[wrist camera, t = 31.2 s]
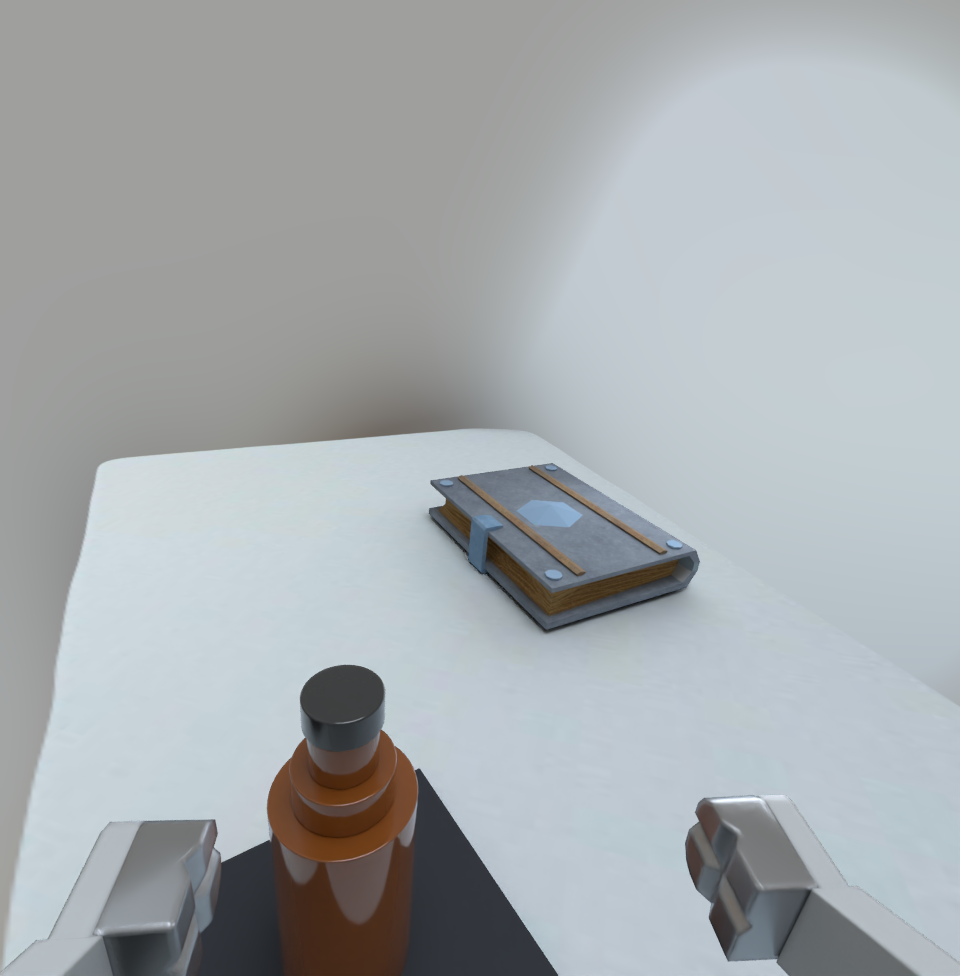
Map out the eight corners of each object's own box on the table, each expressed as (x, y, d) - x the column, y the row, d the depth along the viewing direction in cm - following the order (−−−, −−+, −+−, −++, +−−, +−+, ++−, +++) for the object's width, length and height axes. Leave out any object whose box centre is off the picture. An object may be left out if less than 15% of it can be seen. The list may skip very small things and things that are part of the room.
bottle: (306, 1053, 21) (288, 787, 16) (264, 921, 25) (238, 670, 20) (432, 967, 24) (453, 715, 19) (377, 859, 28) (381, 625, 23)
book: (692, 588, 53) (705, 539, 51) (540, 635, 45) (549, 579, 43) (554, 495, 70) (559, 455, 68) (425, 517, 62) (427, 473, 60)
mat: (187, 1297, 17) (185, 1291, 17) (132, 911, 26) (130, 905, 25) (561, 987, 24) (563, 982, 24) (419, 772, 33) (419, 767, 33)
